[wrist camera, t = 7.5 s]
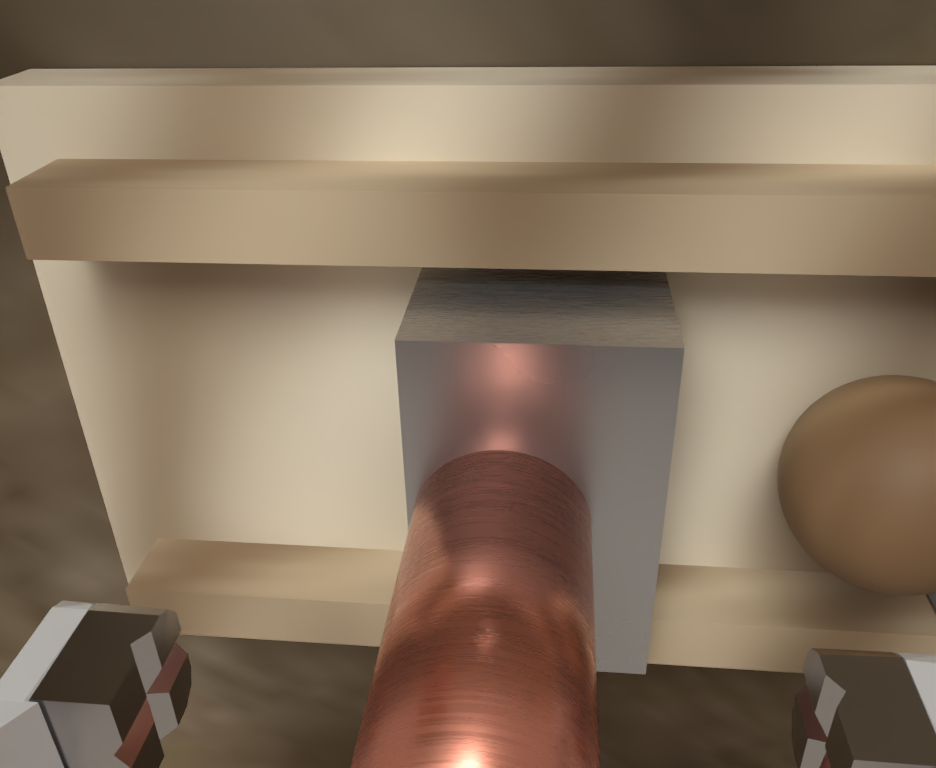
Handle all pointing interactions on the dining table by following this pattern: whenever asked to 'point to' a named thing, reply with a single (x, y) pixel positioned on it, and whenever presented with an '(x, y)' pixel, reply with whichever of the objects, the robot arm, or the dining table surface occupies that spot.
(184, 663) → the robot arm
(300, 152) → the wooden rail tray
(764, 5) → the dining table surface
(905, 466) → the brown ball
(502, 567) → the lever
